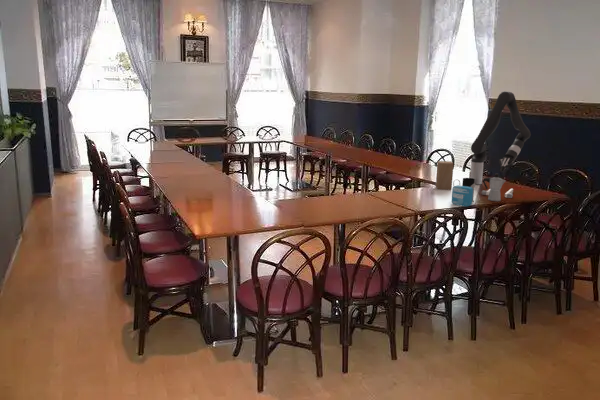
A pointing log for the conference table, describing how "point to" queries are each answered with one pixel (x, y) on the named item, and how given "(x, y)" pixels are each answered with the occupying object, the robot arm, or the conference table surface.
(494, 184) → the coffee maker
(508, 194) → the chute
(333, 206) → the conference table surface
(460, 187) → the data package
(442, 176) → the wooden block
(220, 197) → the conference table surface
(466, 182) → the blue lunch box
